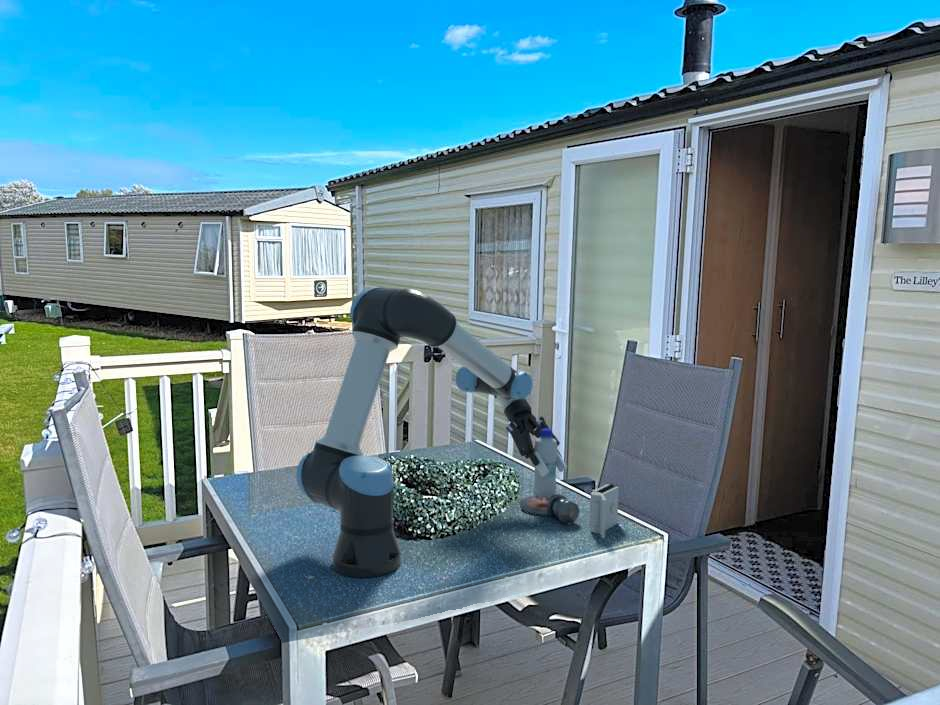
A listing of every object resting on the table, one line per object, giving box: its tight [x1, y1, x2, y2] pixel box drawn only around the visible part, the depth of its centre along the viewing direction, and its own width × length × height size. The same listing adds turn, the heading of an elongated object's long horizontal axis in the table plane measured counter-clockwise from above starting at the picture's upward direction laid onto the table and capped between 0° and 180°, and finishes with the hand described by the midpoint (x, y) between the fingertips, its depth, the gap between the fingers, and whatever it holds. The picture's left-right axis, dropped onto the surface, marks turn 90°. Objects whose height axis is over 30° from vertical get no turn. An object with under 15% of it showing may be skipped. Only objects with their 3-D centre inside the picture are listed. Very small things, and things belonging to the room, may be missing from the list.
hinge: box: [589, 483, 620, 539], centre depth 174 cm, size 14×5×10 cm, turn 153°
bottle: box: [533, 428, 559, 501], centre depth 189 cm, size 7×7×20 cm
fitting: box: [519, 493, 580, 525], centre depth 187 cm, size 21×14×6 cm
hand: (554, 471), depth 187 cm, fingers closed on bottle, 7 cm apart
